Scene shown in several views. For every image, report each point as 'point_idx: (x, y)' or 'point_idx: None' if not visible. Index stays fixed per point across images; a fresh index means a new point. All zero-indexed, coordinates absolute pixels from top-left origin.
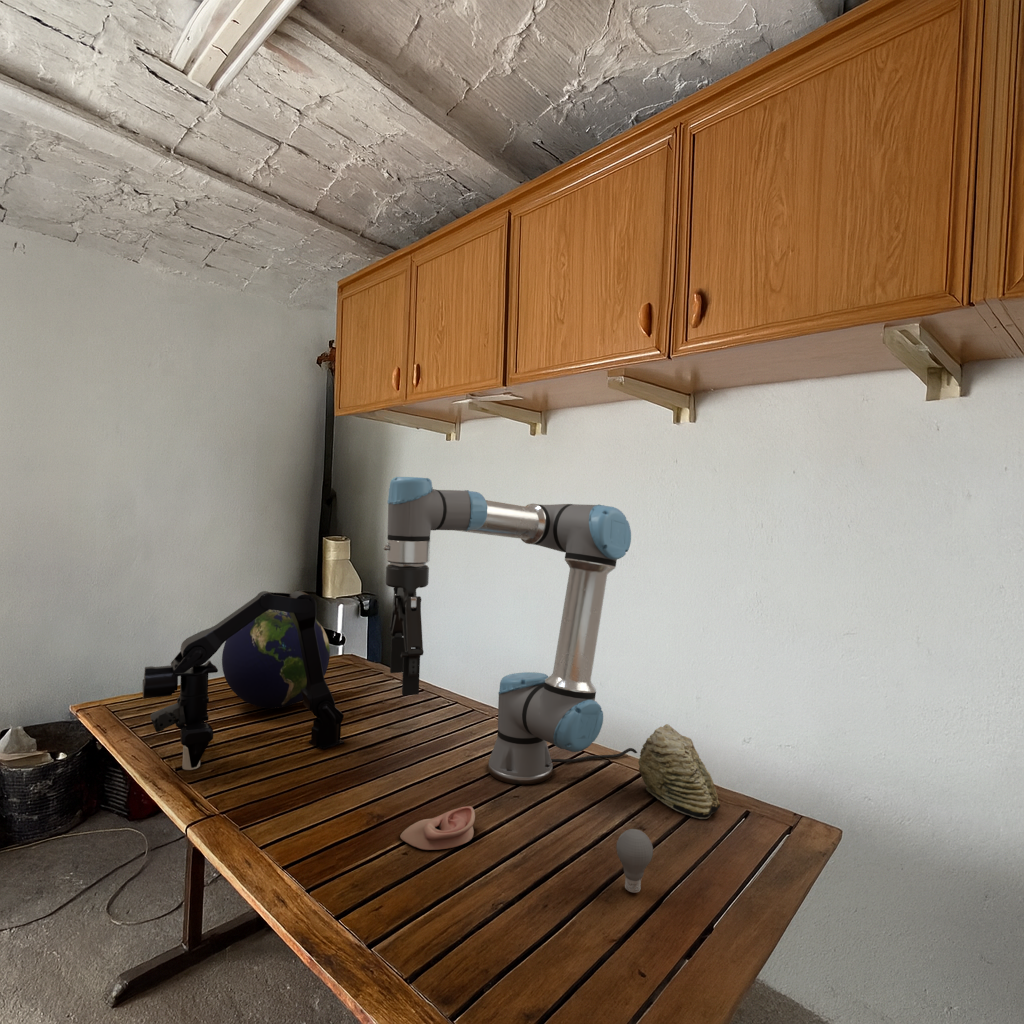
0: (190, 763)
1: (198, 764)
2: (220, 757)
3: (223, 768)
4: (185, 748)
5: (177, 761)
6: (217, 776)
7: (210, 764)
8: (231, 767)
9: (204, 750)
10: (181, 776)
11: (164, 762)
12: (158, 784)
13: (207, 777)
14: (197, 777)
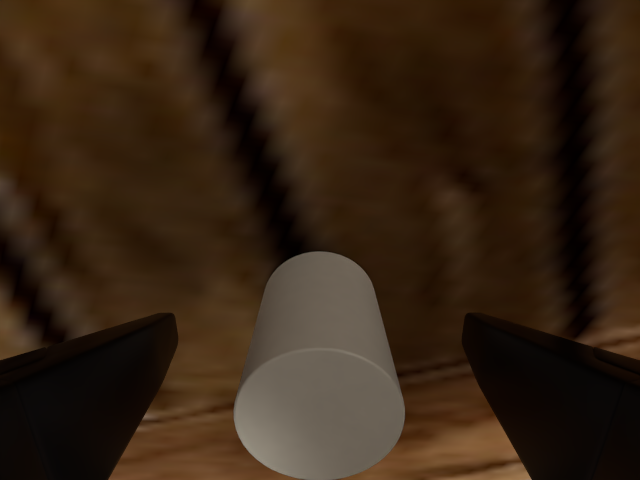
0: (473, 368)
1: (362, 275)
2: (222, 87)
3: (472, 100)
4: (366, 466)
5: (189, 362)
6: (596, 165)
7: (338, 182)
8: (490, 31)
9: (632, 362)
10: (447, 361)
11: (179, 419)
12: (486, 458)
13: (565, 230)
14: (522, 285)
